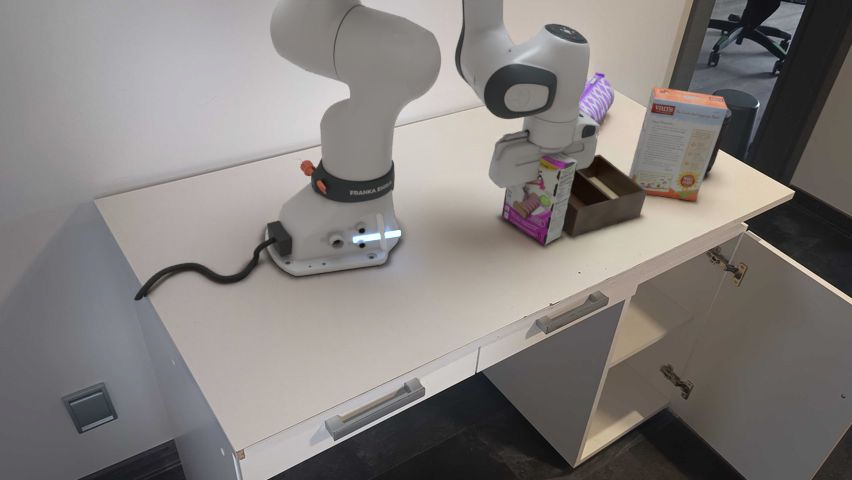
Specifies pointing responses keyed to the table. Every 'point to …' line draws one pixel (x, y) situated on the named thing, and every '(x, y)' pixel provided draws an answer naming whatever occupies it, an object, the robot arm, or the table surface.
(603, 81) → the pencil case
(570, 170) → the candy bar box
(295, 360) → the table surface
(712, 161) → the camera lens
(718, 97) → the cracker box
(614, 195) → the divided storage box
